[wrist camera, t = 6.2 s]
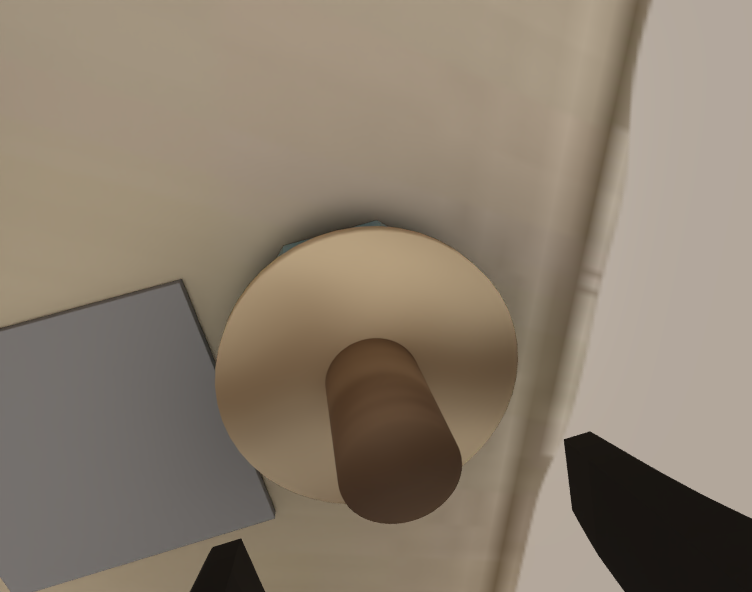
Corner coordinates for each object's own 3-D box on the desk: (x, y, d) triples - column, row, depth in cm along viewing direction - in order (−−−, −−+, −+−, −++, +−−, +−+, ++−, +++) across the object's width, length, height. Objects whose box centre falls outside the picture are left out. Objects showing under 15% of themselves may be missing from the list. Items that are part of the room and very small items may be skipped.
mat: (275, 511, 22) (274, 518, 22) (19, 589, 22) (14, 597, 21) (181, 279, 18) (179, 282, 18) (-138, 366, 18) (-147, 371, 17)
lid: (521, 447, 19) (599, 561, 14) (266, 518, 19) (259, 664, 14) (490, 193, 16) (579, 232, 11) (174, 269, 15) (120, 348, 10)
